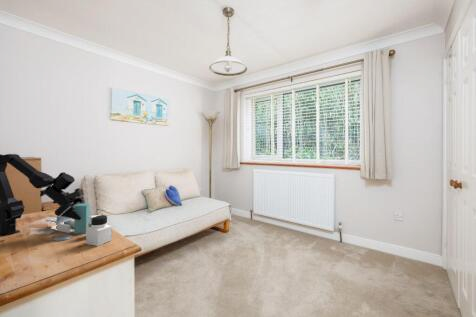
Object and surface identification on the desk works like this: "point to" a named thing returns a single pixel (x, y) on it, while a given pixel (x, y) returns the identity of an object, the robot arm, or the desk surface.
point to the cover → (59, 219)
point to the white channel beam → (66, 226)
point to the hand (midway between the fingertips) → (84, 216)
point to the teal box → (82, 218)
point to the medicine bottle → (98, 231)
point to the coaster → (62, 237)
